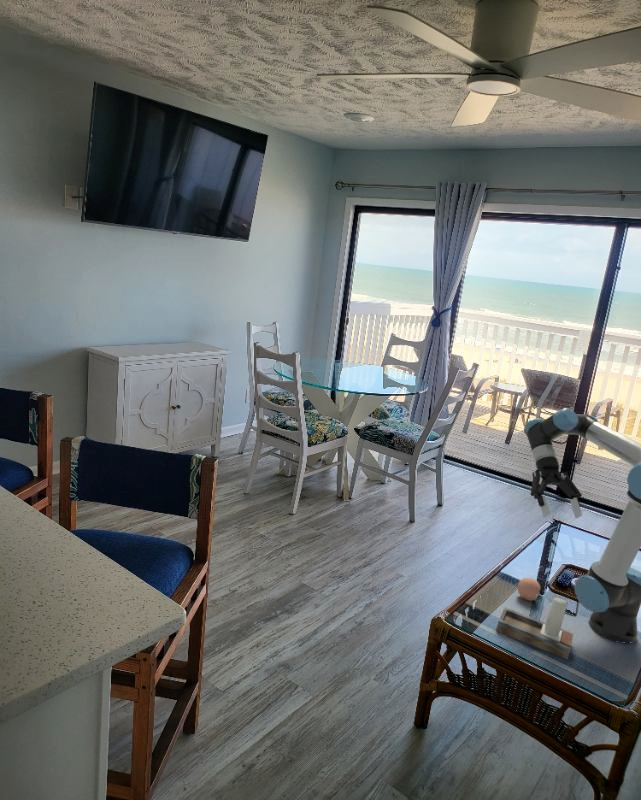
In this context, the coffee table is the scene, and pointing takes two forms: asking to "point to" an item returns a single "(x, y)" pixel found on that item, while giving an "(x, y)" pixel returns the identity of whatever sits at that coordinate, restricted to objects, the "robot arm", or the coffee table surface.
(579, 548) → the coffee table surface
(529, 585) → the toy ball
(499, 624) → the track
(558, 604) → the disc
